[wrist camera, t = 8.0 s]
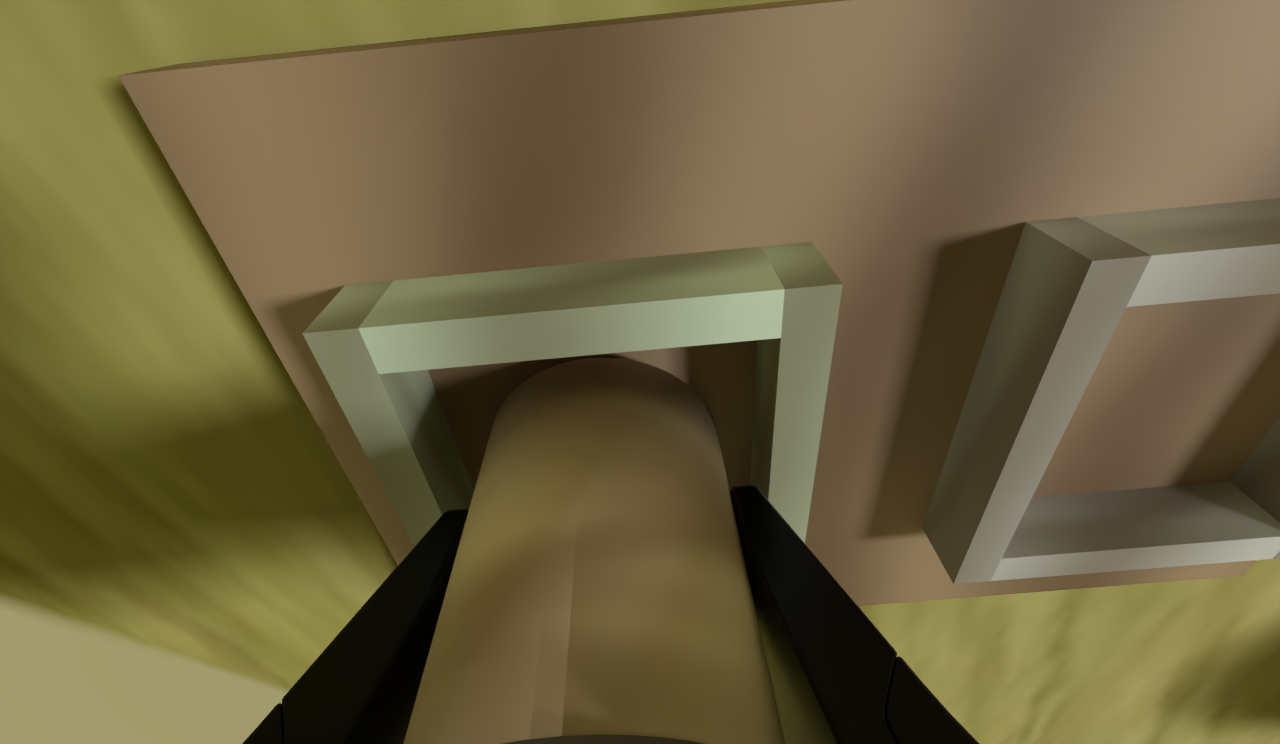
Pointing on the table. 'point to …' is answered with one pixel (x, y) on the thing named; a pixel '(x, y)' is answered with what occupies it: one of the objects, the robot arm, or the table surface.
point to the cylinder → (599, 577)
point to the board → (794, 264)
